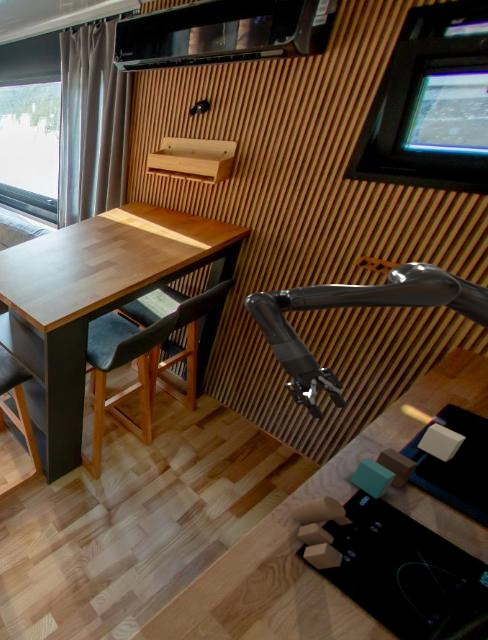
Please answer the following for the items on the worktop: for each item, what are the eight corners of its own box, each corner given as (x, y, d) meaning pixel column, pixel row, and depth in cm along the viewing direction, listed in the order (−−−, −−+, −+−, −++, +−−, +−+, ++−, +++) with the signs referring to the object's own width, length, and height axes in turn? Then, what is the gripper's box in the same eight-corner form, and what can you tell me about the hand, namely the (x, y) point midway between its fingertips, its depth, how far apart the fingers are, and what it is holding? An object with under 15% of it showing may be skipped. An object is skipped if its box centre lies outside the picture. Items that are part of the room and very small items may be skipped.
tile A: (424, 442, 101) (435, 423, 97) (452, 457, 96) (466, 437, 93) (417, 447, 100) (429, 427, 97) (445, 461, 96) (459, 441, 92)
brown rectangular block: (378, 467, 97) (389, 447, 94) (405, 483, 93) (417, 463, 89) (370, 471, 97) (381, 451, 93) (397, 488, 92) (409, 467, 89)
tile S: (358, 477, 96) (368, 457, 93) (384, 494, 91) (396, 474, 88) (350, 481, 95) (360, 461, 92) (376, 499, 91) (387, 479, 87)
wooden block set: (321, 578, 81) (361, 573, 74) (278, 543, 85) (312, 535, 78) (337, 518, 90) (374, 508, 83) (297, 488, 94) (330, 477, 87)
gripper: (287, 361, 97) (327, 422, 92) (326, 345, 100) (366, 403, 94) (262, 365, 104) (298, 421, 99) (299, 350, 107) (335, 404, 101)
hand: (331, 412), depth 97 cm, fingers open, 8 cm apart
